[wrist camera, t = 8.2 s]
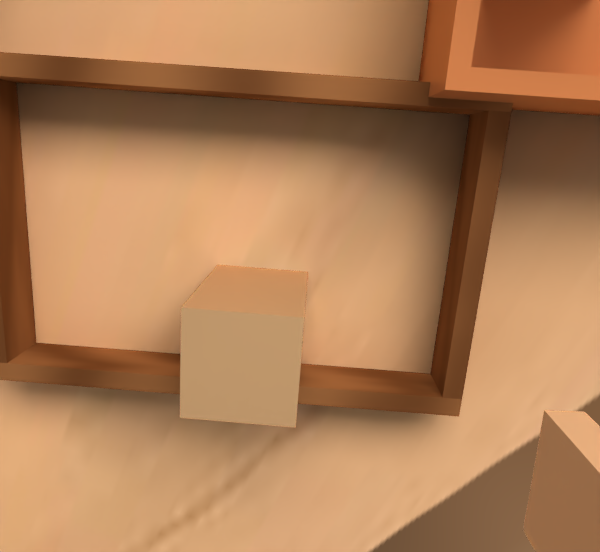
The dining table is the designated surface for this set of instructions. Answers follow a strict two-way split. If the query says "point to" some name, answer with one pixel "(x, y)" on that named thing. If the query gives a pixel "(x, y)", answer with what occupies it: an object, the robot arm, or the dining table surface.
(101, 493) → the dining table surface
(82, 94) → the dining table surface
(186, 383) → the beige rectangular block
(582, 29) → the orange storage bin
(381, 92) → the tray
